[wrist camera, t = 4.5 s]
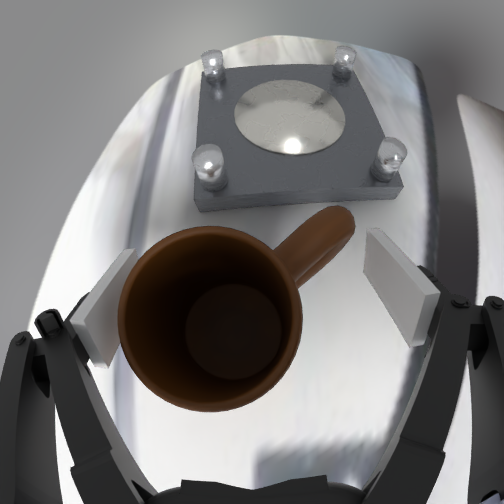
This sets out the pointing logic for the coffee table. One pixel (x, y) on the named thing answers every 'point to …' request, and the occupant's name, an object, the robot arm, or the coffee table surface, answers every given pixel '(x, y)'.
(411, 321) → the robot arm
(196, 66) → the coffee table surface
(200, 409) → the mug
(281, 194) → the chassis
